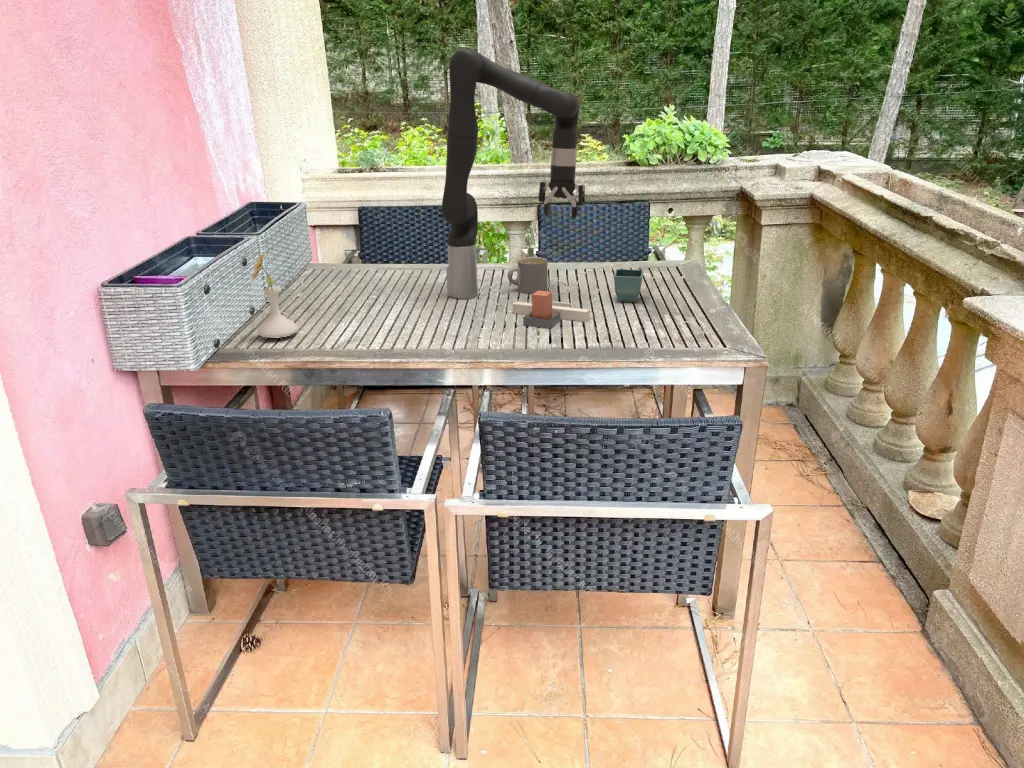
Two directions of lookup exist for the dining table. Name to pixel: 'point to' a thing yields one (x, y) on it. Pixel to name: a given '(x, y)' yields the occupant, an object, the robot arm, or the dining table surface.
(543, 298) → the block
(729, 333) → the dining table surface
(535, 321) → the keeper bracket
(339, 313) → the dining table surface
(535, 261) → the coffee mug
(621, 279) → the flower pot
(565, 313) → the strip
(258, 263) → the flower in vase
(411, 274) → the dining table surface
